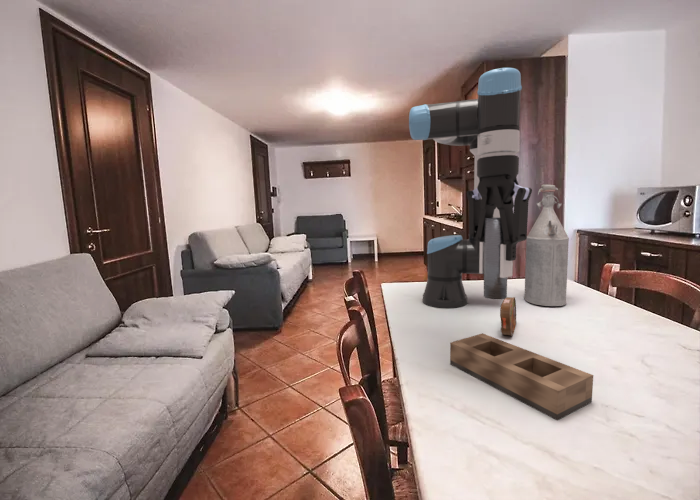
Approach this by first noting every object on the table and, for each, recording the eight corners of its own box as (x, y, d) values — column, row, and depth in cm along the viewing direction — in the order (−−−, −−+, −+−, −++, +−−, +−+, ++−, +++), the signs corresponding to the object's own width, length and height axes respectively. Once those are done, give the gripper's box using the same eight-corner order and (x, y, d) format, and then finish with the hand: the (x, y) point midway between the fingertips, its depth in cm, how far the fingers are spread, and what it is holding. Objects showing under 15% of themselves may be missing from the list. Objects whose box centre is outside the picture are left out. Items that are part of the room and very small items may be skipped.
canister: (529, 307, 117) (533, 184, 112) (520, 294, 134) (523, 186, 128) (573, 309, 113) (579, 182, 108) (559, 295, 130) (564, 184, 125)
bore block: (450, 364, 79) (450, 342, 78) (482, 353, 84) (482, 333, 83) (557, 420, 58) (558, 391, 58) (591, 402, 63) (593, 375, 62)
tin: (511, 340, 91) (512, 308, 90) (498, 338, 93) (498, 307, 92) (517, 322, 104) (517, 294, 103) (505, 321, 106) (505, 293, 105)
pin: (478, 295, 74) (479, 218, 72) (493, 292, 76) (494, 217, 74) (496, 300, 70) (498, 218, 68) (511, 297, 72) (513, 217, 70)
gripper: (450, 161, 75) (450, 270, 78) (526, 148, 60) (522, 285, 63) (476, 161, 79) (474, 266, 82) (553, 150, 64) (548, 279, 67)
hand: (495, 274), depth 73 cm, fingers closed on pin, 4 cm apart
